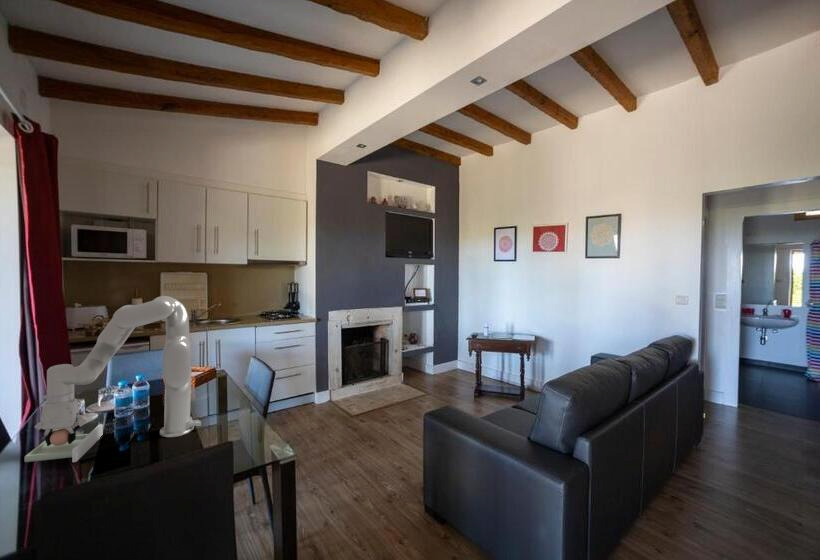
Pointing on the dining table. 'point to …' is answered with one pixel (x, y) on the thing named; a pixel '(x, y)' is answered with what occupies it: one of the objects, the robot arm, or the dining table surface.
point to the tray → (53, 450)
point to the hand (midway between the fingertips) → (60, 442)
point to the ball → (59, 437)
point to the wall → (87, 443)
